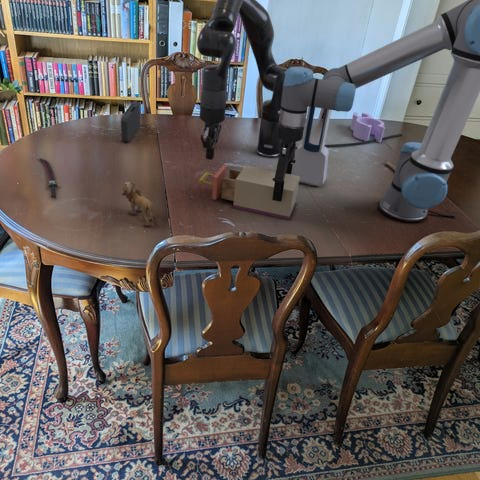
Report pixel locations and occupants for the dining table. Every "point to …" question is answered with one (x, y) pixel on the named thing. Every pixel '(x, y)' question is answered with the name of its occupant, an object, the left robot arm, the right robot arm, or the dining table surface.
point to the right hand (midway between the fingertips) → (281, 191)
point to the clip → (367, 127)
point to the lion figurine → (137, 201)
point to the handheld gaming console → (130, 121)
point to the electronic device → (312, 154)
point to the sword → (52, 181)
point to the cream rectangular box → (264, 192)
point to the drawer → (222, 183)
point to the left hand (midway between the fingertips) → (209, 158)
